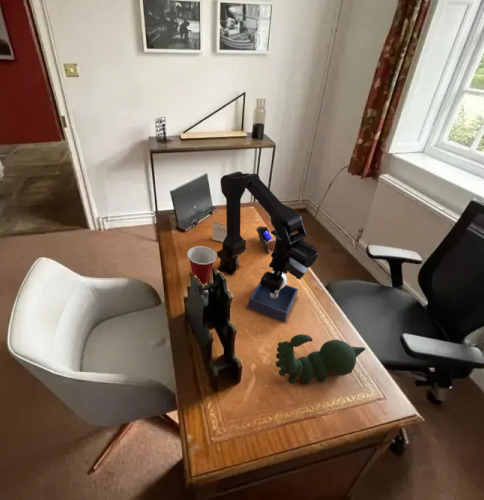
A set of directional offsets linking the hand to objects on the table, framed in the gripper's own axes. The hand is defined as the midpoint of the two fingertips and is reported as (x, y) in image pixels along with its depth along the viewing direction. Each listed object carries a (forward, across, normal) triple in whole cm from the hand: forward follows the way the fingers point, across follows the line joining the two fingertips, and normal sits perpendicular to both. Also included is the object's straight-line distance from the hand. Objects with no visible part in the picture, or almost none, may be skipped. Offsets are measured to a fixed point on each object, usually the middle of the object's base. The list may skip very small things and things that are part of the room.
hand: (275, 287), depth 108 cm
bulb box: (+8, 0, 0) cm, 8 cm away
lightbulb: (+5, 0, 0) cm, 5 cm away
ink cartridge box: (+8, +26, +32) cm, 42 cm away
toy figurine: (+8, -20, -20) cm, 30 cm away
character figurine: (+8, +32, +15) cm, 36 cm away
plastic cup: (+8, -2, +28) cm, 29 cm away
